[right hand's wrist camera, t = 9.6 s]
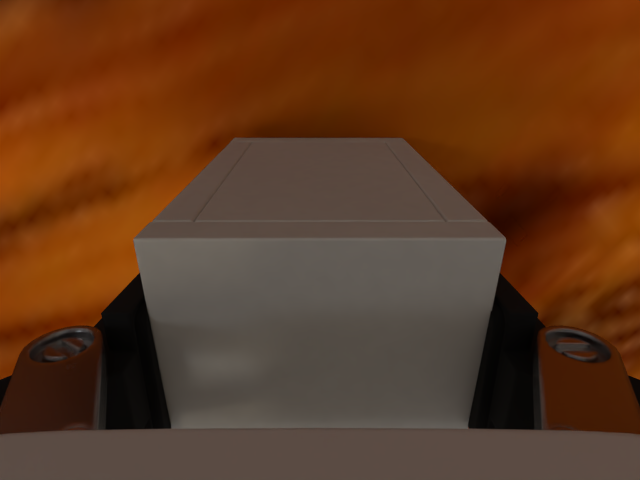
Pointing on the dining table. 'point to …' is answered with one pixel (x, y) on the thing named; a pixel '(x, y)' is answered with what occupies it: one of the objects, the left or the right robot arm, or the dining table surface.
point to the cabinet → (319, 289)
